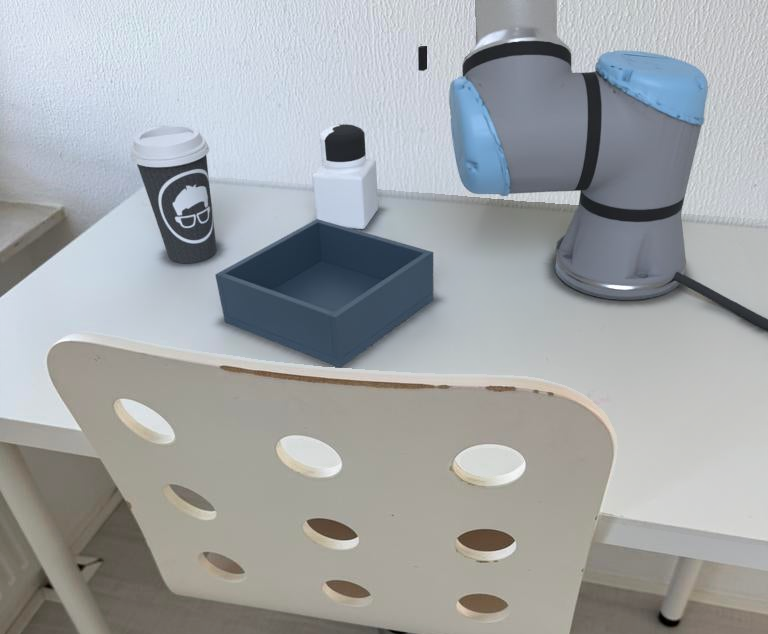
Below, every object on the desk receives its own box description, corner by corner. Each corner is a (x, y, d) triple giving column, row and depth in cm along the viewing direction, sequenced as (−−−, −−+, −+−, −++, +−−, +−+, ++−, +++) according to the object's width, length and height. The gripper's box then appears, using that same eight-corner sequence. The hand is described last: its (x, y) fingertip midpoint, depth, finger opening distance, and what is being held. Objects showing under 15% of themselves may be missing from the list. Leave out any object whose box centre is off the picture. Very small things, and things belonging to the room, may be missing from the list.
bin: (433, 299, 92) (433, 251, 88) (340, 367, 82) (335, 317, 78) (321, 264, 100) (316, 218, 96) (224, 322, 90) (214, 274, 86)
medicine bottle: (378, 209, 112) (374, 121, 103) (364, 230, 107) (359, 138, 99) (332, 206, 113) (324, 119, 105) (316, 226, 108) (307, 136, 100)
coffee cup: (235, 237, 107) (214, 121, 96) (218, 269, 100) (193, 148, 90) (169, 237, 108) (141, 122, 97) (147, 268, 101) (115, 149, 91)
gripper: (521, 54, 114) (459, 95, 101) (377, 40, 124) (303, 76, 111) (526, -6, 109) (460, 29, 96) (374, -16, 118) (296, 15, 105)
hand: (376, 54), depth 103 cm, fingers open, 13 cm apart
